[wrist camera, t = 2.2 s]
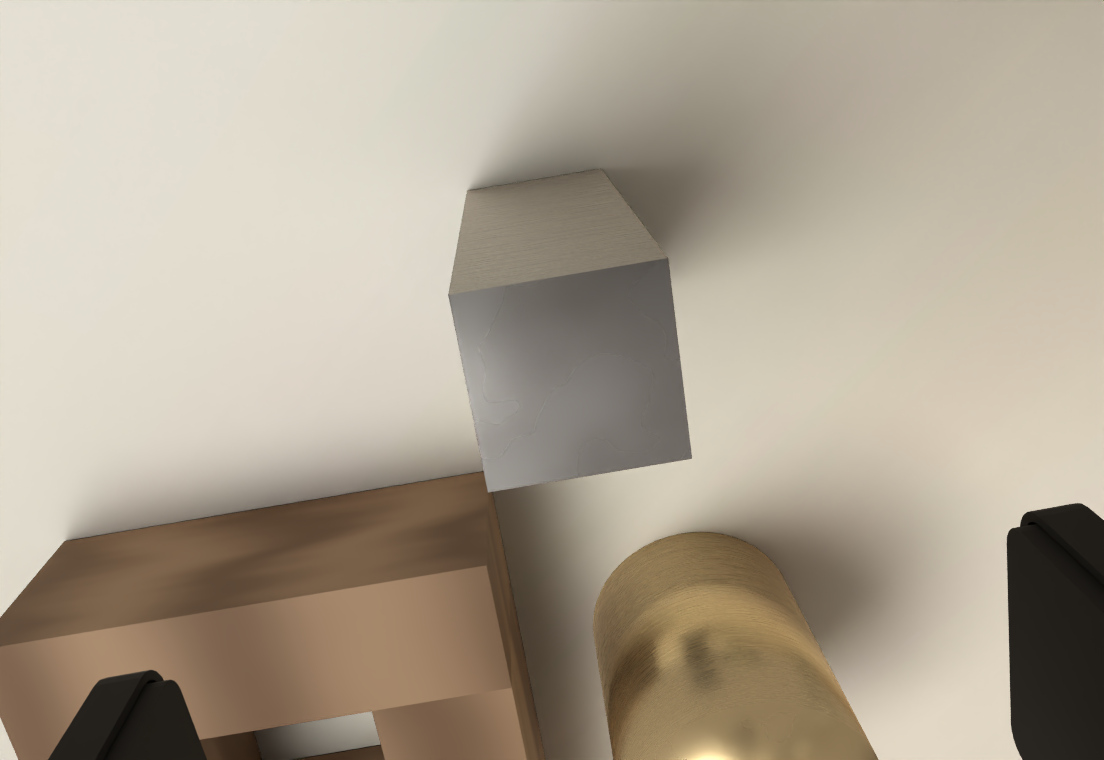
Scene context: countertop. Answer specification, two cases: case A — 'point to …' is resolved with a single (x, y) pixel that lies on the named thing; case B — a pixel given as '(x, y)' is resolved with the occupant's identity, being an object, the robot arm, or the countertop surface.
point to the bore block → (289, 626)
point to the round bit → (715, 660)
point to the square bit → (566, 333)
